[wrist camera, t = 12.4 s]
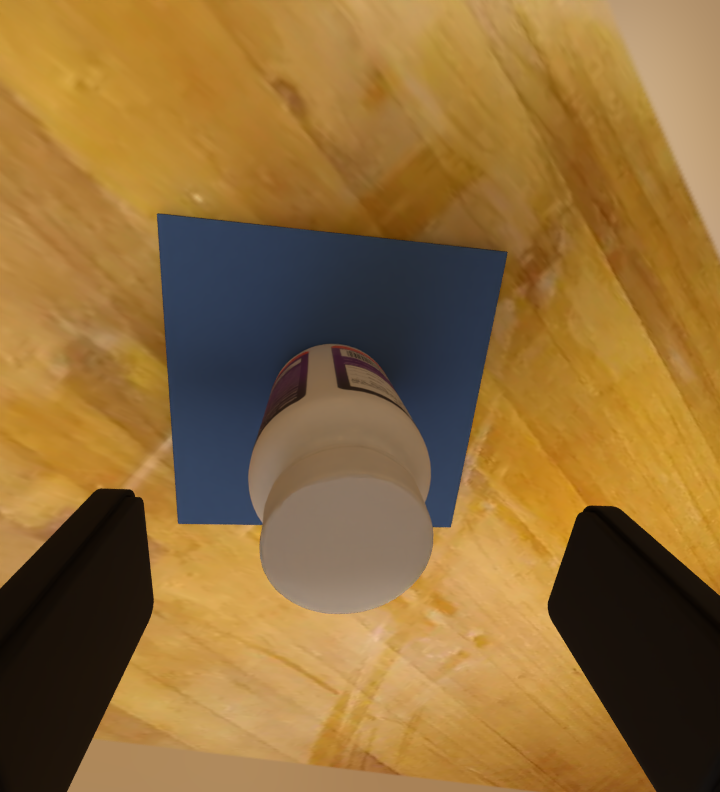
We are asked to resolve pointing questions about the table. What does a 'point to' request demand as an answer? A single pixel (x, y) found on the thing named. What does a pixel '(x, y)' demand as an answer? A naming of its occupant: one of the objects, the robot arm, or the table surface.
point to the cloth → (314, 342)
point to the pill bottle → (340, 484)
